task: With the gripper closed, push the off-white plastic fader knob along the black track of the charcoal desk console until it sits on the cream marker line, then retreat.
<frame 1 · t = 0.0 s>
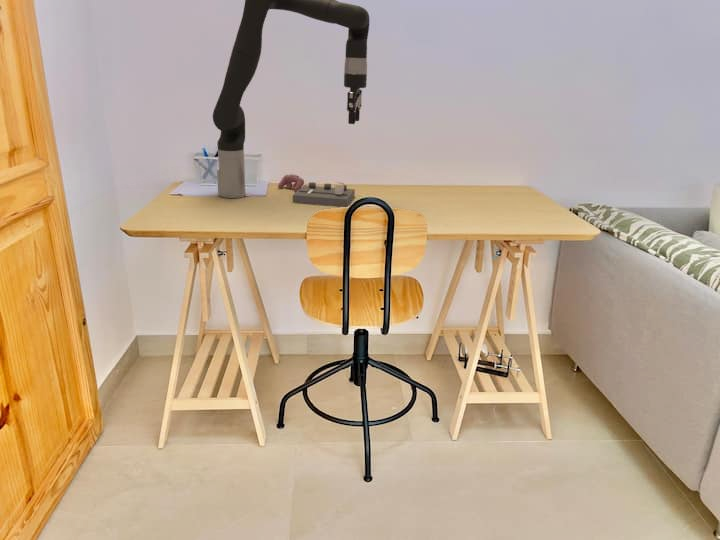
hand: (353, 122, 190), 29 cm above the table, fingers open, 8 cm apart
maroon arched lump: (291, 190, 219), on the table
fader knob: (339, 187, 202), point 5 cm above the table, slide at 6.0 cm
console: (324, 199, 206), on the table
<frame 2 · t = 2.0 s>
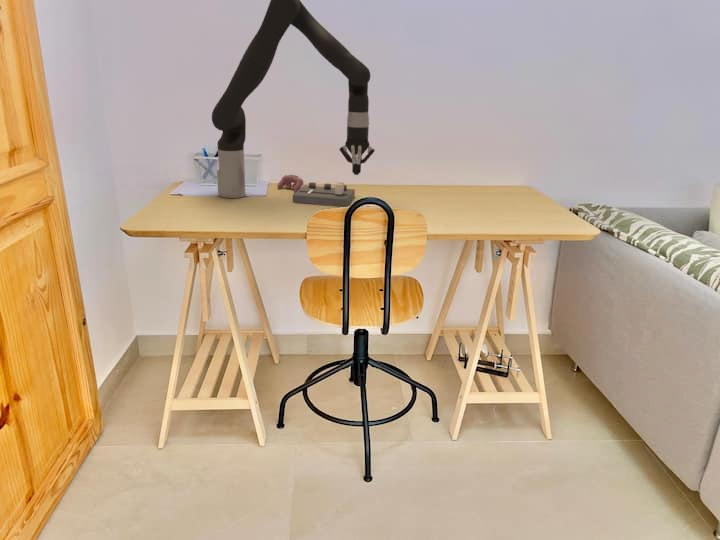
hand: (356, 174, 199), 11 cm above the table, fingers closed
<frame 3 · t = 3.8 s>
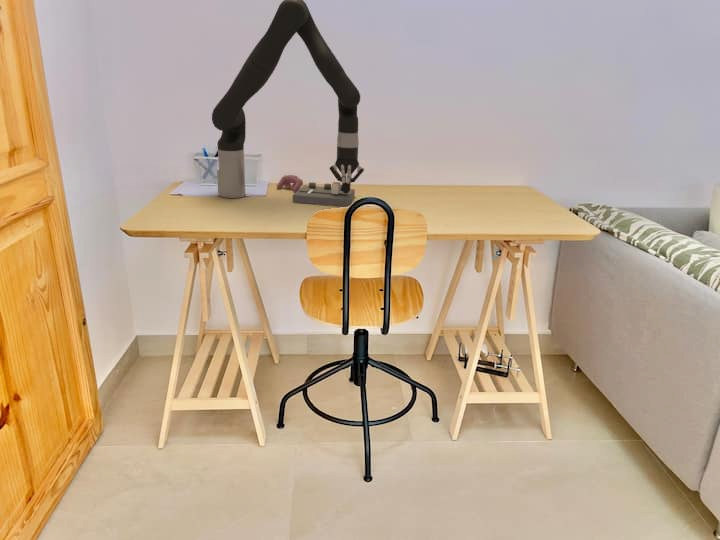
hand: (346, 192, 202), 4 cm above the table, fingers closed
fader knob: (336, 187, 202), point 5 cm above the table, slide at 4.7 cm, touching gripper
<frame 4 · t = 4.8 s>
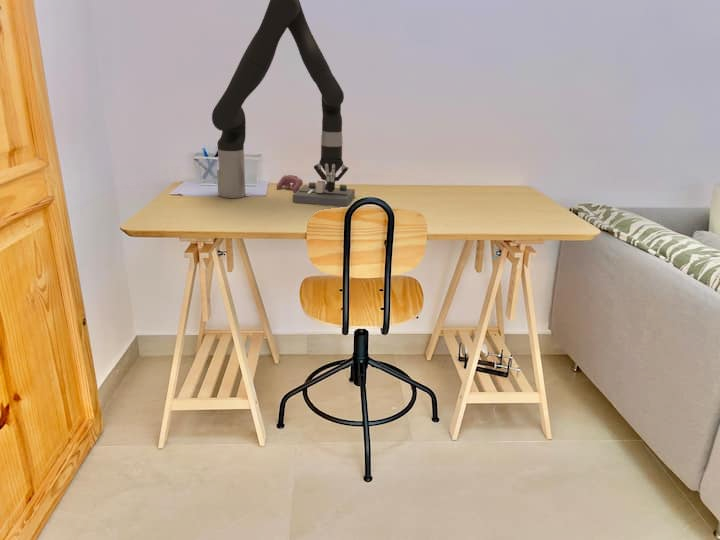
hand: (330, 191, 203), 4 cm above the table, fingers closed
fader knob: (320, 186, 203), point 5 cm above the table, slide at -1.1 cm, touching gripper
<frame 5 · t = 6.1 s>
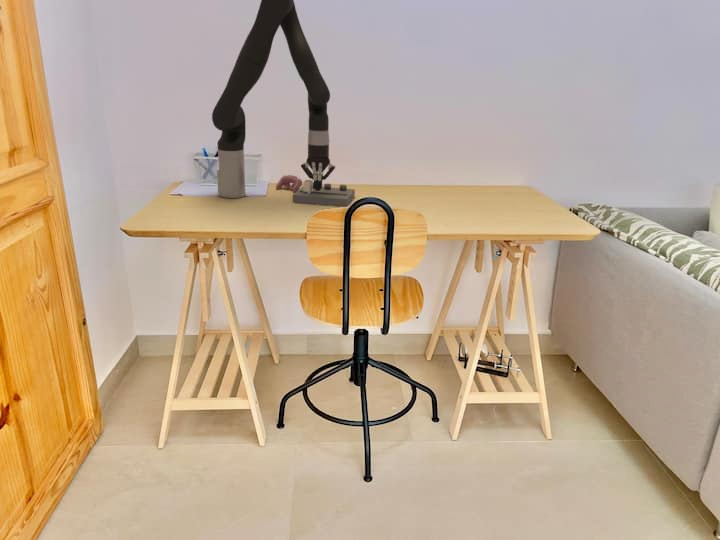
hand: (318, 190, 204), 4 cm above the table, fingers closed
fader knob: (308, 185, 203), point 5 cm above the table, slide at -5.8 cm, touching gripper
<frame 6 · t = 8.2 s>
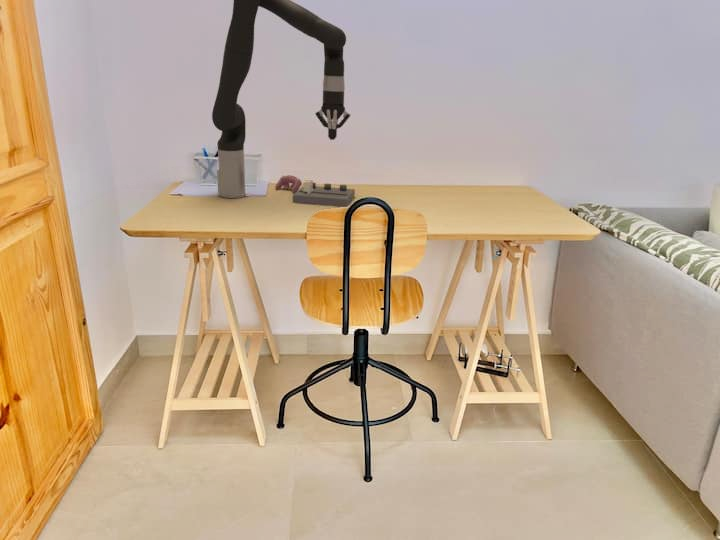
hand: (332, 139, 201), 22 cm above the table, fingers closed
fader knob: (308, 185, 203), point 5 cm above the table, slide at -5.9 cm
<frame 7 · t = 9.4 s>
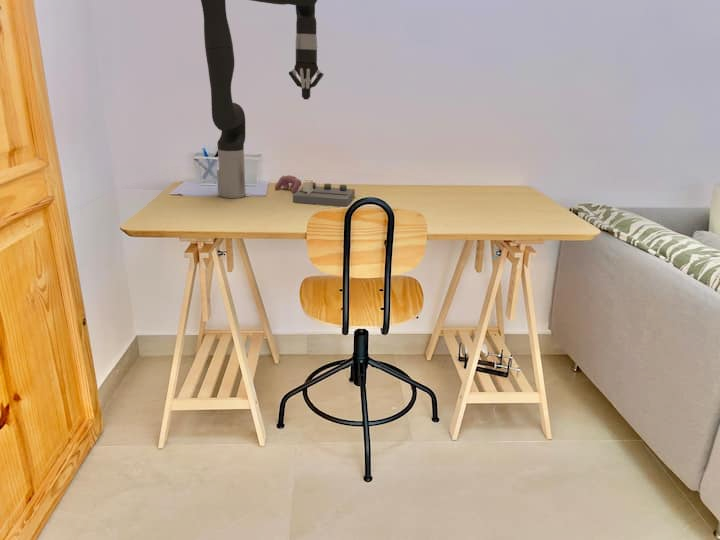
hand: (306, 99, 201), 35 cm above the table, fingers closed
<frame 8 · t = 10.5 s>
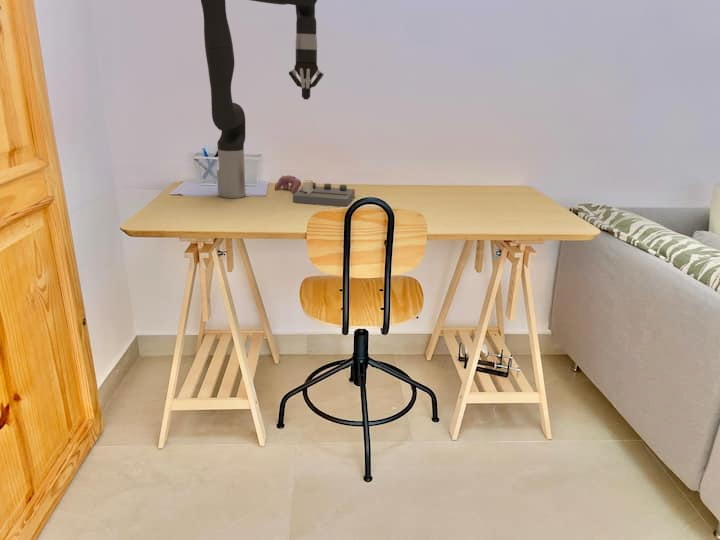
hand: (306, 99, 201), 35 cm above the table, fingers closed
at the end: fader knob slide at -5.9 cm; fader knob touching nothing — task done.
